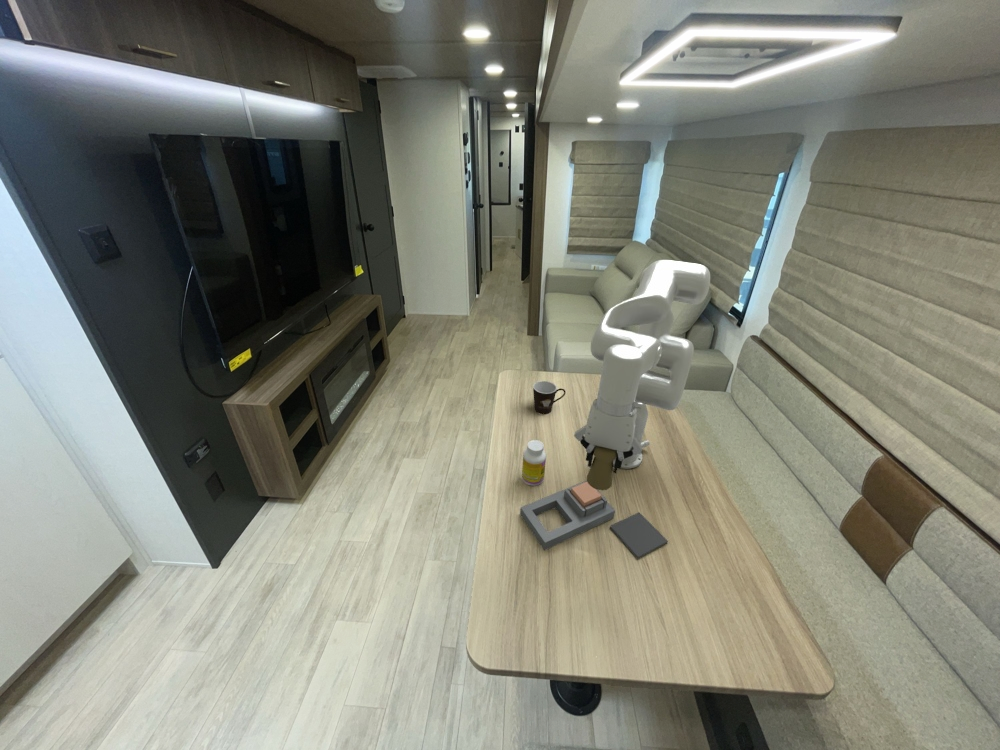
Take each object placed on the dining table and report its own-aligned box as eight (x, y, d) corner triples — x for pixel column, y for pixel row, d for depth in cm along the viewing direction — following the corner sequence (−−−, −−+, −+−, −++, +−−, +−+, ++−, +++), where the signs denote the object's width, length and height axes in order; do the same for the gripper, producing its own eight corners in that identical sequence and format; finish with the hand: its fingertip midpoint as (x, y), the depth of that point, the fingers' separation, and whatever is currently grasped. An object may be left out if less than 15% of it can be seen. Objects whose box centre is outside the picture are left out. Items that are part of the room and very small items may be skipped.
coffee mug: (529, 413, 145) (530, 391, 140) (534, 401, 152) (535, 379, 147) (560, 419, 143) (563, 396, 137) (564, 406, 150) (566, 384, 145)
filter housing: (585, 487, 115) (588, 473, 112) (613, 518, 105) (617, 503, 103) (520, 514, 106) (521, 500, 103) (544, 550, 97) (546, 536, 94)
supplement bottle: (542, 488, 114) (545, 454, 107) (519, 484, 115) (522, 451, 109) (544, 472, 120) (548, 439, 113) (523, 468, 121) (525, 436, 114)
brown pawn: (610, 493, 91) (618, 457, 85) (584, 486, 92) (590, 451, 87) (613, 475, 96) (621, 440, 90) (588, 468, 97) (594, 434, 92)
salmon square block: (586, 489, 109) (588, 481, 108) (599, 503, 105) (601, 495, 103) (570, 495, 107) (571, 488, 105) (583, 510, 103) (584, 502, 101)
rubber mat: (638, 514, 107) (639, 512, 106) (667, 543, 99) (668, 540, 99) (609, 527, 103) (610, 525, 102) (637, 559, 95) (638, 557, 95)
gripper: (658, 401, 83) (641, 464, 92) (577, 385, 88) (569, 446, 97) (657, 421, 77) (639, 487, 86) (571, 403, 82) (563, 467, 91)
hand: (602, 465), depth 91 cm, fingers closed on brown pawn, 5 cm apart
